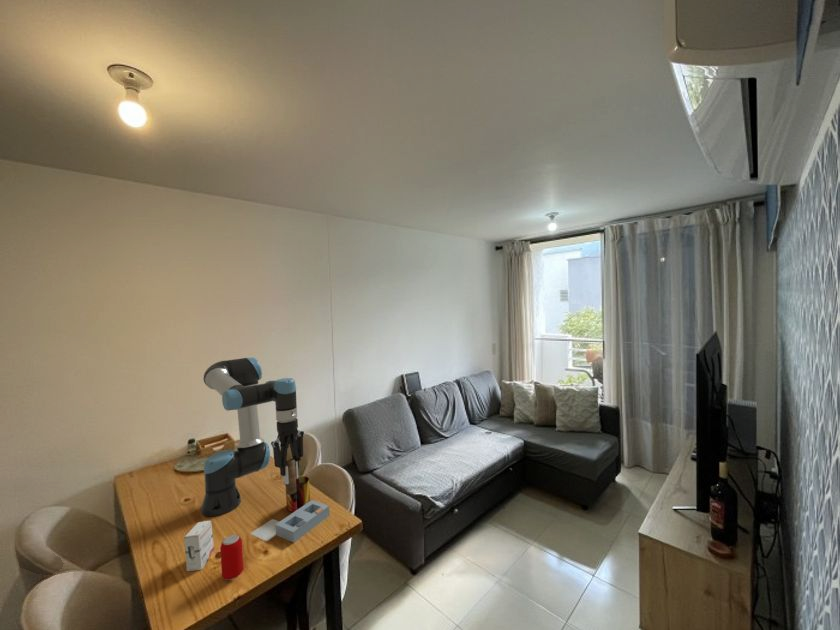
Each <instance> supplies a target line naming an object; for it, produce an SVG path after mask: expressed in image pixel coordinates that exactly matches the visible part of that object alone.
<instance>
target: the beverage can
mask: <svg viewBox="0 0 840 630" xmlns="http://www.w3.org/2000/svg"><path fill="white" fill-rule="evenodd" d="M219 550H220V564H221V578H222V579H223V580H225V581H231V580H234V579H236V578H237V577H239V576H240V575H241V574H242V573H243V571H244V555H243V553H244V552H243V538H241V536H239V534H232V535H228V536H227V537H225V538H224V539H223V540H222V542H221V544H220V549H219Z"/></svg>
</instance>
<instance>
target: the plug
mask: <svg viewBox="0 0 840 630" xmlns="http://www.w3.org/2000/svg"><path fill="white" fill-rule="evenodd" d="M286 466H288V476H289V484H285V483H284V484H285V495H286V494H288V495H290V494H294V493H295V492H296V491H297V490H296V472H295V459H293V458H287V460H286Z"/></svg>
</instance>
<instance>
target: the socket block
mask: <svg viewBox="0 0 840 630" xmlns="http://www.w3.org/2000/svg"><path fill="white" fill-rule="evenodd" d="M328 517H330V505H328V504H326V503H325V504H324V503H322V502H319V501H316V500H314V499H312V500H311V499H310V502H308V503H307V504H305V505H304V506H302V507H301V508H299V509H298V510H296V511H295V512H293V513H289V515H288V516H286V517H284V518H283V519H281V520H280V521H279V522H278V523H277V524H275V525H276V535H275V536H277V537H280V538H282V539H284V540H285V541H286V540H287V541H289V542H291V543H293V544H294V543H296V542H297V541H298V540H300V539H301V538H302V537H304V536H305V535H306V534H307V533H309V532H310V531H311V530H313V529H314V528H315V527H317V526H318V525H320V524H321V523H322V522H323V521H324V520H326V519H327V518H328Z"/></svg>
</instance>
